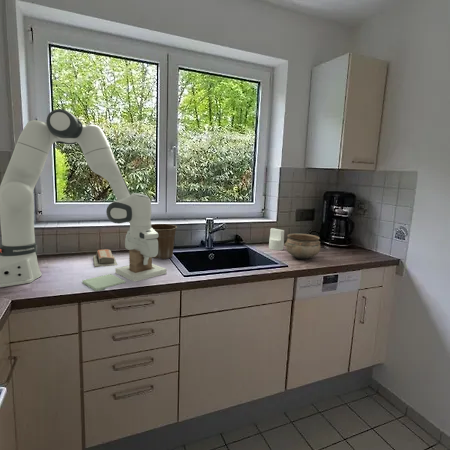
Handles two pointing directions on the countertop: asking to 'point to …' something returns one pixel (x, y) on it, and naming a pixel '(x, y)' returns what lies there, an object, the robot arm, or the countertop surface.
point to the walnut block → (138, 262)
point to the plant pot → (165, 239)
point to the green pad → (103, 282)
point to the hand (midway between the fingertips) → (140, 262)
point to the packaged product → (104, 258)
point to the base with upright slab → (276, 239)
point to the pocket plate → (140, 273)
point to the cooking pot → (302, 245)
